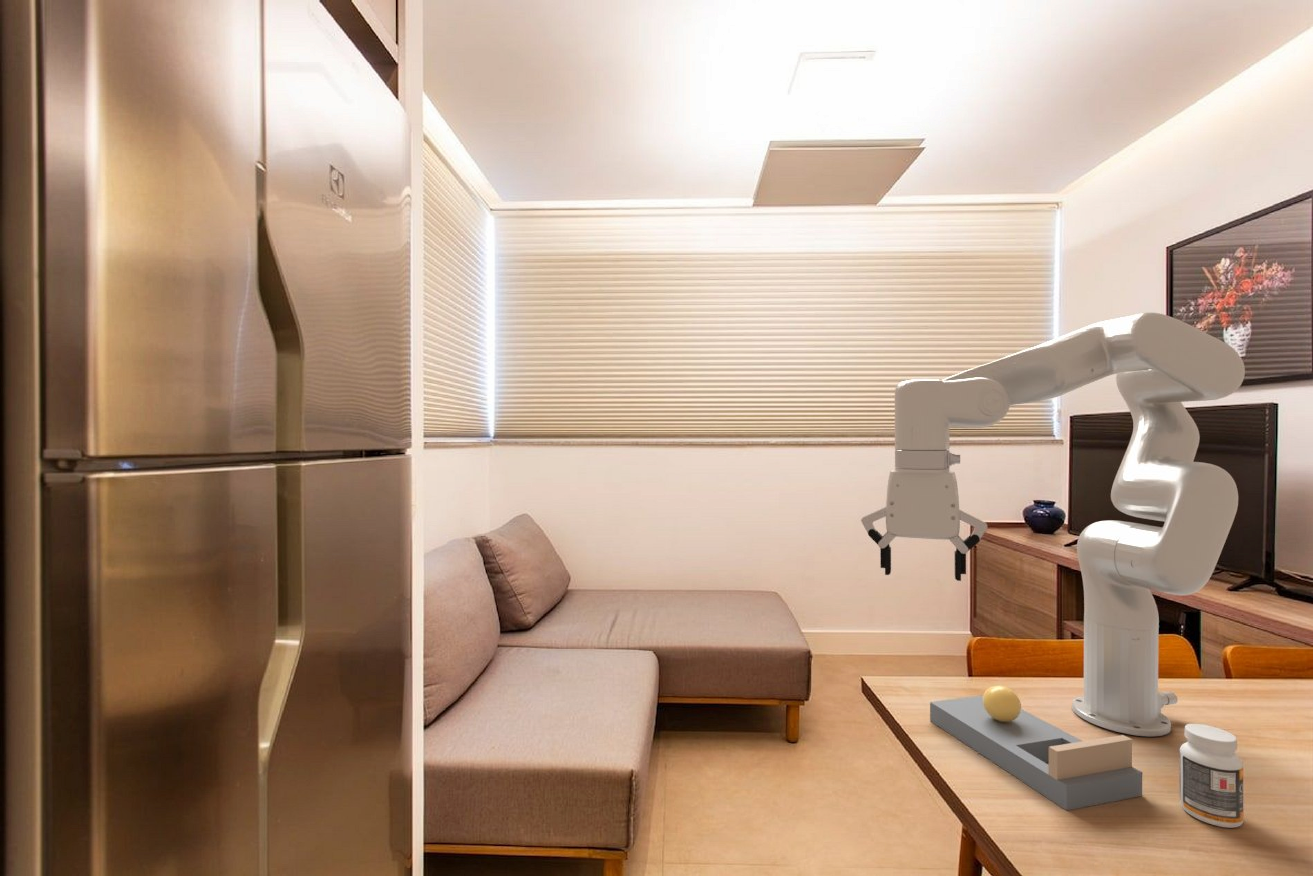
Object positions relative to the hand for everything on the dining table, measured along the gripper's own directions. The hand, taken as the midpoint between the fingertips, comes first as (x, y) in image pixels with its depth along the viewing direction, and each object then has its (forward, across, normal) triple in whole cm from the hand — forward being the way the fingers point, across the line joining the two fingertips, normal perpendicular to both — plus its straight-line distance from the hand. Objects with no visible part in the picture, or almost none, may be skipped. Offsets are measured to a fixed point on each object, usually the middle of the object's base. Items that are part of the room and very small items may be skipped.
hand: (922, 575), depth 92 cm
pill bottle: (+25, -32, +7) cm, 41 cm away
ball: (+19, -11, -4) cm, 22 cm away
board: (+24, -13, 0) cm, 28 cm away
